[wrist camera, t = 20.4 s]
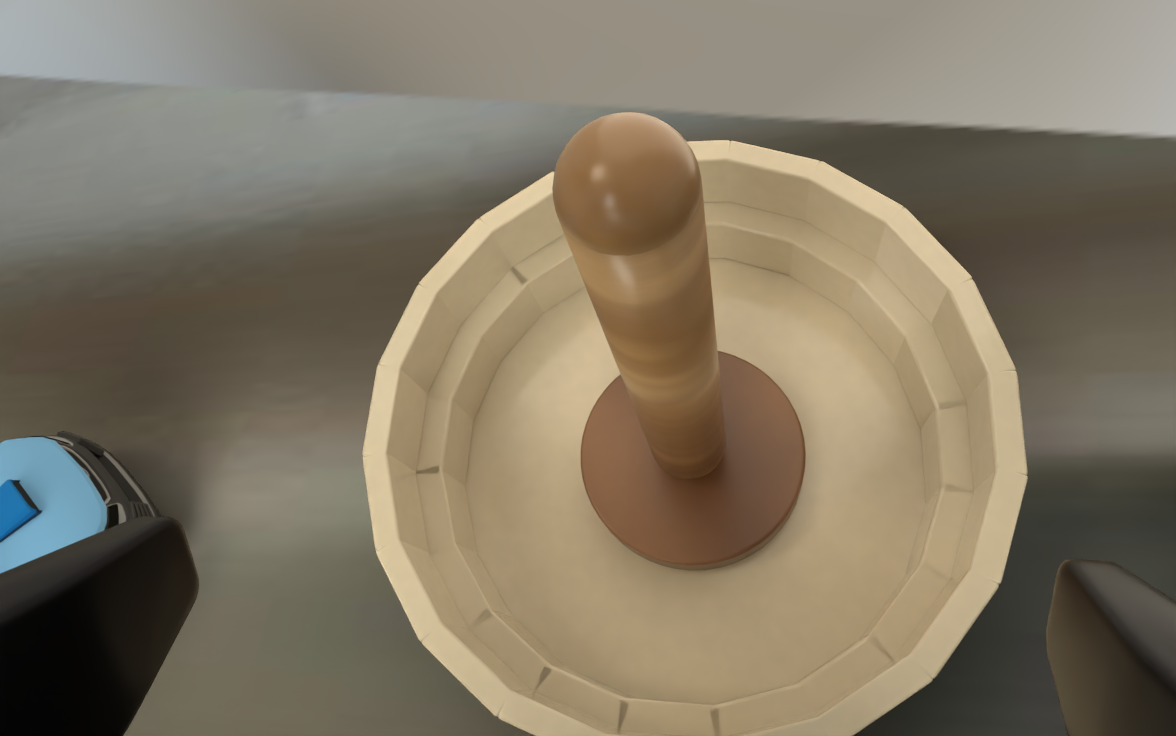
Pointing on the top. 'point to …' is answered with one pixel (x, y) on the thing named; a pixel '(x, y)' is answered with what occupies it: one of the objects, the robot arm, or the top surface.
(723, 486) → the wooden peg stand
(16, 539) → the toy car
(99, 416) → the top surface
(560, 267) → the bowl
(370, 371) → the top surface
